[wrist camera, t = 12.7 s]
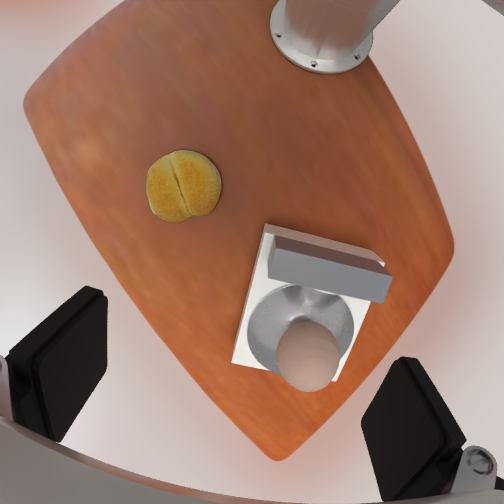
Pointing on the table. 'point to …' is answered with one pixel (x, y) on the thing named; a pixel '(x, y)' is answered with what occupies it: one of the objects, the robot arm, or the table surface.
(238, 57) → the table surface
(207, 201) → the bread roll
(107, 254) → the table surface
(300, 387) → the egg
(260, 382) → the table surface
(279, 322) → the scale pan
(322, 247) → the kitchen scale
